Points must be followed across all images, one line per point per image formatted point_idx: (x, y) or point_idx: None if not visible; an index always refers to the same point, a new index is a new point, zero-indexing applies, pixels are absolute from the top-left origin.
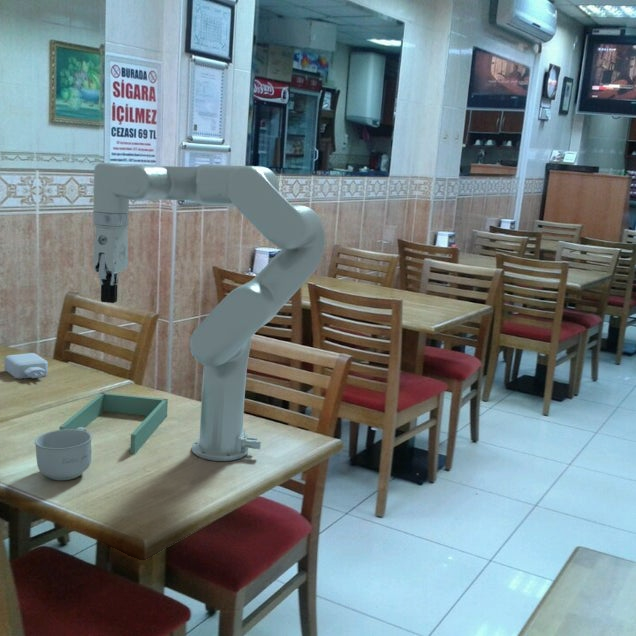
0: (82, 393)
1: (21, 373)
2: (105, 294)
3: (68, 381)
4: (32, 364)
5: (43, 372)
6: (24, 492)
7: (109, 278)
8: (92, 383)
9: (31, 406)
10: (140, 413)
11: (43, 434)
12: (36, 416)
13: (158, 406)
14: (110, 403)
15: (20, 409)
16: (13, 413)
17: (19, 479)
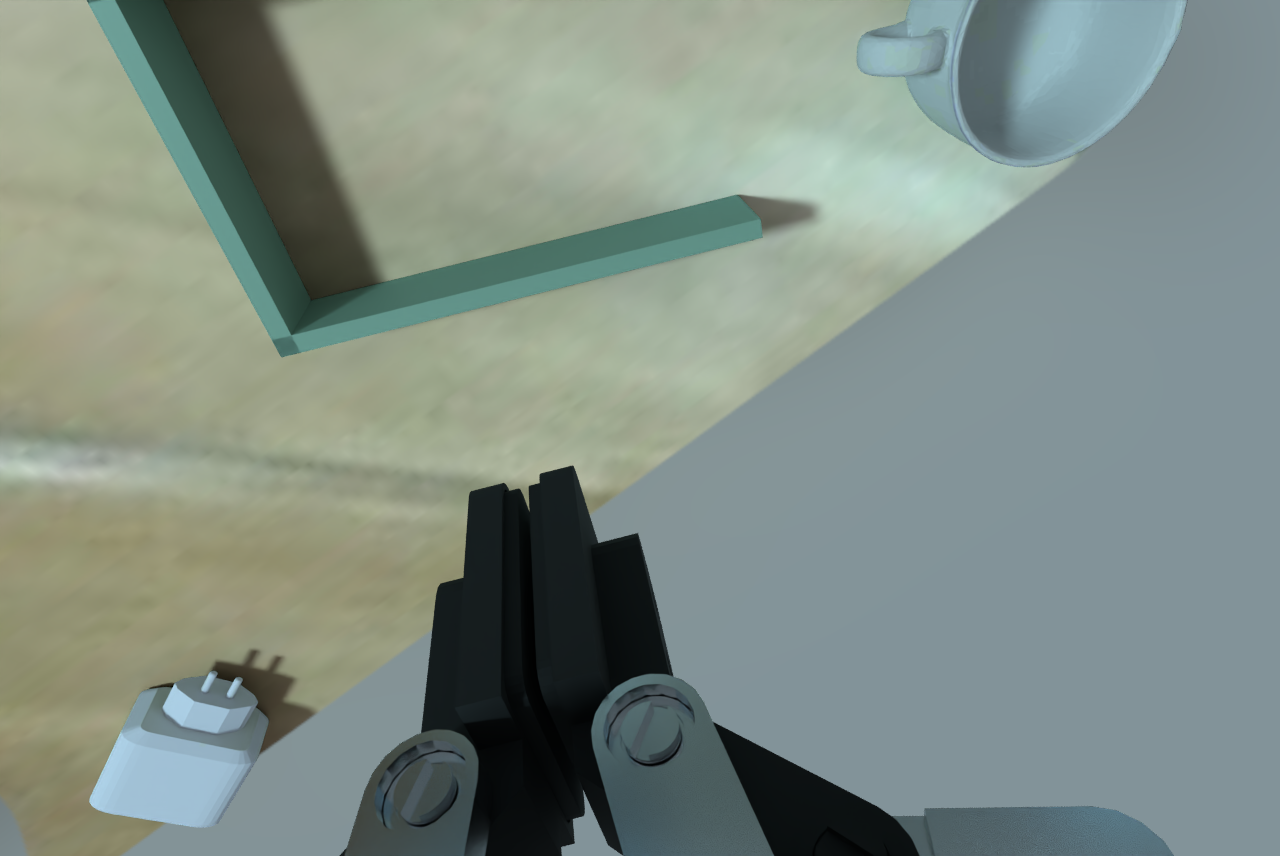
0: (201, 490)
1: (249, 723)
2: (660, 623)
3: (133, 605)
4: (196, 740)
5: (190, 687)
6: None
7: (857, 825)
8: (65, 535)
9: (453, 526)
10: (221, 124)
11: (1017, 161)
12: (525, 455)
13: None
14: (287, 287)
15: None
16: None
17: None
